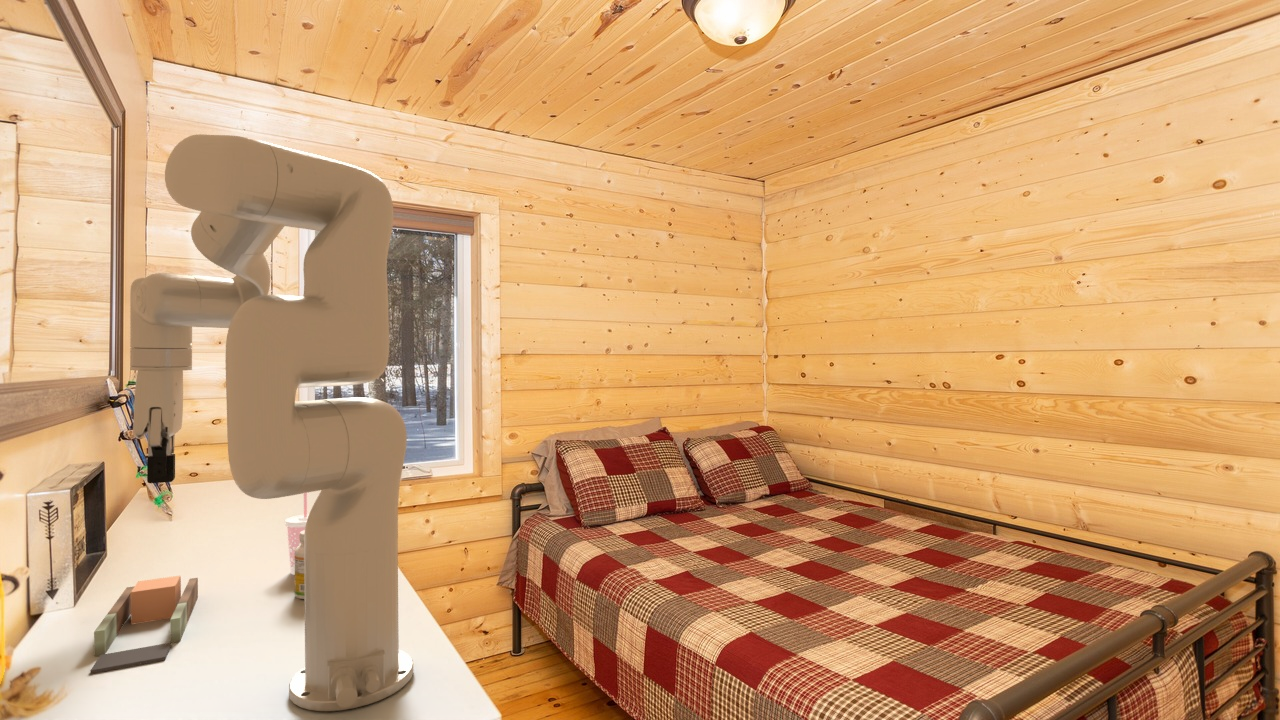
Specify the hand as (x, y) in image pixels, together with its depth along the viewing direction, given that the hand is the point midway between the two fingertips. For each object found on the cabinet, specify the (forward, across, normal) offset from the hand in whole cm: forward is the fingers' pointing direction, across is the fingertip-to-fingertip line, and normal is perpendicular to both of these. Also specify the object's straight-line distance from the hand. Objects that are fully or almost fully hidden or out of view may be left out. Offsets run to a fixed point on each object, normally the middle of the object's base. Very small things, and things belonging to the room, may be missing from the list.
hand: (161, 481), depth 98 cm
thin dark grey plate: (+17, +23, +1) cm, 29 cm away
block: (+18, +8, +1) cm, 19 cm away
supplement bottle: (+17, +10, +21) cm, 29 cm away
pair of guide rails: (+17, +11, +1) cm, 21 cm away
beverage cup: (+18, -3, +20) cm, 27 cm away
